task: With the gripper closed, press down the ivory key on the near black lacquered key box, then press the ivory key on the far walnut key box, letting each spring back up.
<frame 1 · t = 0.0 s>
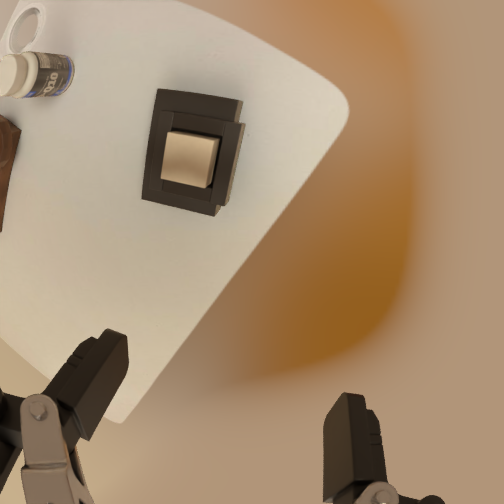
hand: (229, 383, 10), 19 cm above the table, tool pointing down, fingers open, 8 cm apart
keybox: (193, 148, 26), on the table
pill bottle: (60, 75, 24), on the table
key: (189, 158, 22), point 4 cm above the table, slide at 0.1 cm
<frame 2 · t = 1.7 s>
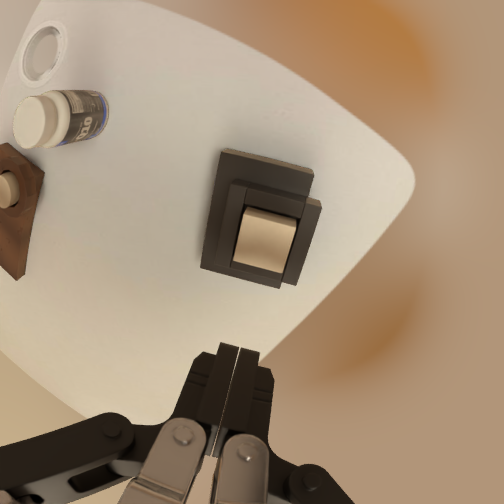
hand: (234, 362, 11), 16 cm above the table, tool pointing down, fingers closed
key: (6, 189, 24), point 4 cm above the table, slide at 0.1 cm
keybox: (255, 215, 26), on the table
pill bottle: (91, 114, 24), on the table
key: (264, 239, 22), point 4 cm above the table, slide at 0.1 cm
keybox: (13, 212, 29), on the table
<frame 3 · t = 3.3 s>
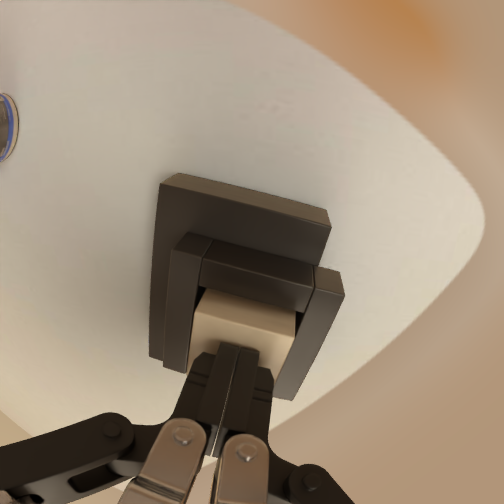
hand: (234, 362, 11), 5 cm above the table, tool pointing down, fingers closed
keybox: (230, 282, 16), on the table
pill bottle: (2, 126, 14), on the table
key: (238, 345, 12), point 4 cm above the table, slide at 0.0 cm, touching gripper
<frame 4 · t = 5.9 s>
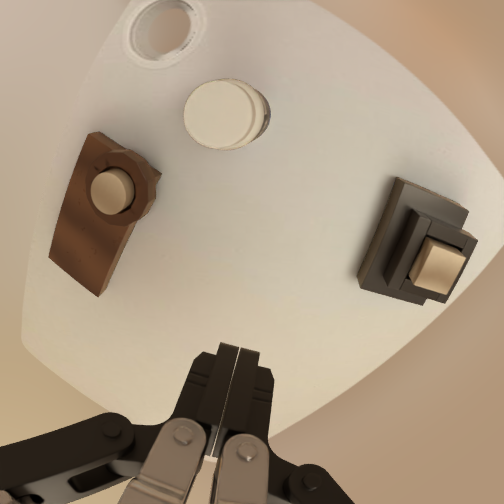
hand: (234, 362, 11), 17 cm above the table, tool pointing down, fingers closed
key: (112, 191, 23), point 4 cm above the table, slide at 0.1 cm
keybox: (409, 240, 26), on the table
pill bottle: (242, 114, 23), on the table
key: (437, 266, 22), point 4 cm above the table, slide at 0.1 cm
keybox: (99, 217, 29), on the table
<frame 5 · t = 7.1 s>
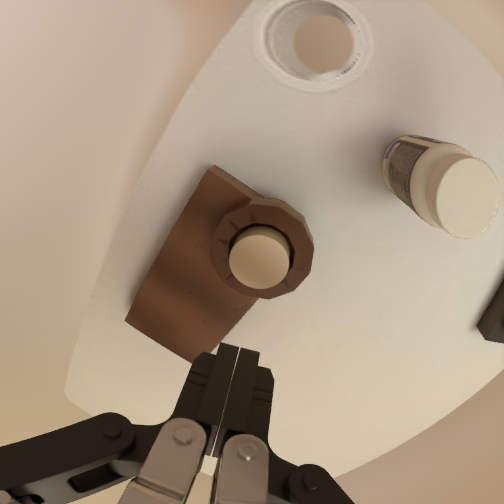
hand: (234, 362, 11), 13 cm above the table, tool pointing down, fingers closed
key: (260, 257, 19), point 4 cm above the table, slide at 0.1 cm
pill bottle: (411, 166, 19), on the table
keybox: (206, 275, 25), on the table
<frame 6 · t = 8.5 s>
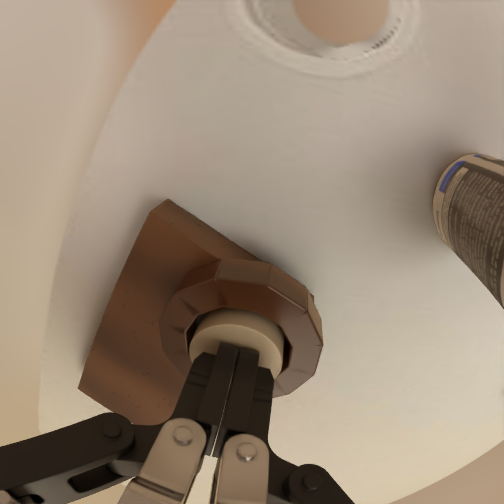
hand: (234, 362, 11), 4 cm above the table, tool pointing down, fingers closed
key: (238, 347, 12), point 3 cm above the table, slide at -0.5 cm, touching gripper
pill bottle: (470, 201, 11), on the table
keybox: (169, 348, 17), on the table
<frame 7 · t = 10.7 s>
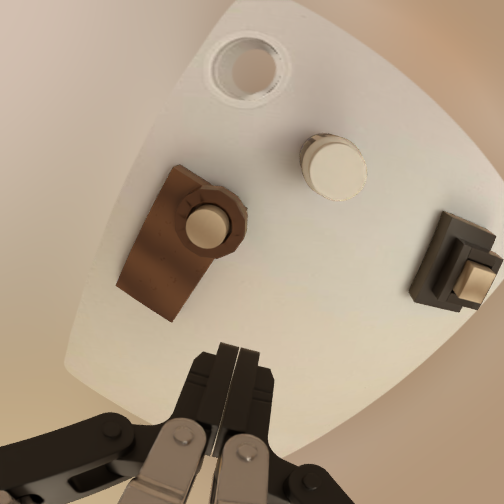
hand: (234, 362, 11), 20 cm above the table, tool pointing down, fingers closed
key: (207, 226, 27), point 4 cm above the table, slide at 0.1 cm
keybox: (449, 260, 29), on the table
pill bottle: (324, 157, 27), on the table
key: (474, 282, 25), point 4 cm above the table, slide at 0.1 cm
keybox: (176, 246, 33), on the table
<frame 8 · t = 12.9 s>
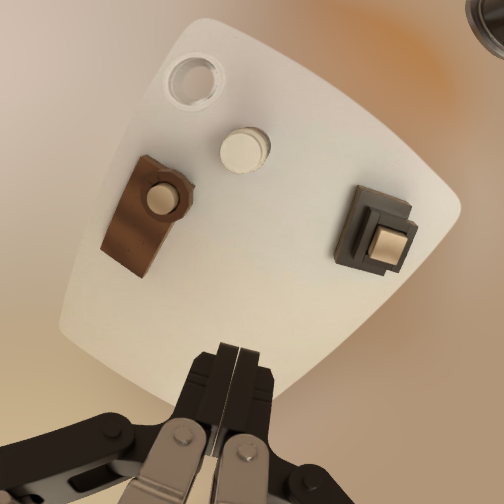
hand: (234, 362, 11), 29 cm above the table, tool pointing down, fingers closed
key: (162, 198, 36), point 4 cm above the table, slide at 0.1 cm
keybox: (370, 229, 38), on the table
pill bottle: (251, 145, 36), on the table
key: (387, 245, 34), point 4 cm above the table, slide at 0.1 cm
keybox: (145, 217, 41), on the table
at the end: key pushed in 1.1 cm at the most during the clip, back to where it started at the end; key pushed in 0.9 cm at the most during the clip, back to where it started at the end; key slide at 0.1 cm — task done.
